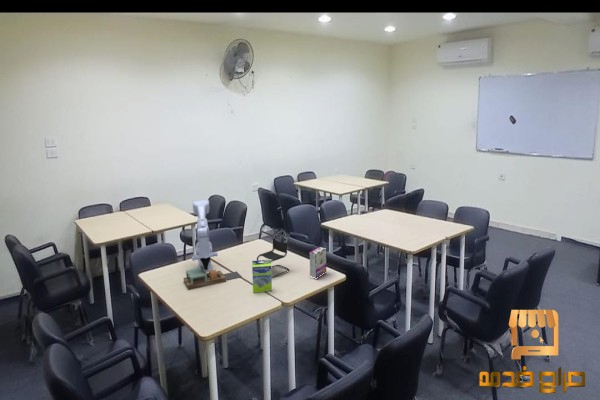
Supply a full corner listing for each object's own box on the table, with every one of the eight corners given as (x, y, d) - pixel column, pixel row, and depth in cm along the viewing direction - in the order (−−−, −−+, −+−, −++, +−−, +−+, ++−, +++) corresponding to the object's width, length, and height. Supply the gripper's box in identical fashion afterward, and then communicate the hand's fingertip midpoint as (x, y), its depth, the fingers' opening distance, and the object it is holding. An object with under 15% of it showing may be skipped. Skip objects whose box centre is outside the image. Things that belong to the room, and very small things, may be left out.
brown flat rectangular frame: (183, 281, 229) (183, 277, 228) (220, 274, 239) (220, 270, 238) (188, 289, 219) (188, 285, 218) (226, 281, 229) (226, 277, 228)
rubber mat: (222, 274, 238) (222, 274, 238) (236, 271, 242) (236, 271, 242) (227, 280, 230) (227, 279, 230) (241, 277, 234) (241, 276, 234)
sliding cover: (186, 277, 229) (185, 267, 228) (201, 274, 233) (201, 264, 232) (191, 284, 219) (190, 274, 218) (207, 281, 223) (206, 271, 222)
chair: (291, 271, 243) (291, 237, 238) (270, 279, 231) (269, 244, 226) (278, 265, 252) (277, 232, 247) (256, 273, 240) (255, 239, 235)
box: (253, 293, 214) (251, 263, 210) (252, 289, 218) (251, 260, 214) (272, 291, 216) (271, 262, 212) (271, 288, 220) (270, 259, 216)
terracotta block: (209, 279, 232) (208, 270, 231) (215, 278, 234) (215, 269, 232) (211, 282, 228) (210, 273, 227) (217, 280, 230) (217, 272, 229)
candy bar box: (319, 271, 241) (319, 246, 238) (326, 273, 238) (326, 248, 235) (309, 277, 233) (309, 251, 229) (316, 280, 230) (316, 253, 226)
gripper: (193, 251, 218) (194, 274, 221) (218, 247, 224) (219, 269, 227) (190, 248, 224) (192, 270, 227) (215, 243, 230) (216, 265, 233)
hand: (205, 269), depth 227 cm, fingers closed
